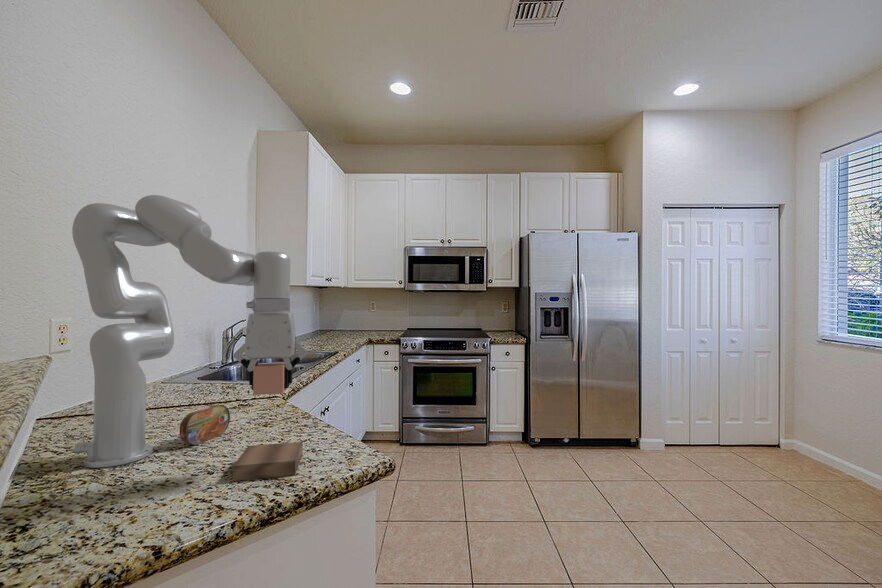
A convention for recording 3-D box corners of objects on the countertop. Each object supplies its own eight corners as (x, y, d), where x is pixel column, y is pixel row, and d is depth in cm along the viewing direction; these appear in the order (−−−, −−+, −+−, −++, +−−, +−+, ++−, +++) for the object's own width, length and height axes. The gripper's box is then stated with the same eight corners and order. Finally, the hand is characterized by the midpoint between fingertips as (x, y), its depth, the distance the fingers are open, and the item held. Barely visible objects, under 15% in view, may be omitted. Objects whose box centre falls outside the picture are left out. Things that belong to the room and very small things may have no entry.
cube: (253, 395, 83) (253, 366, 84) (259, 389, 89) (260, 362, 89) (282, 393, 85) (283, 365, 85) (287, 388, 90) (287, 362, 91)
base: (232, 481, 79) (232, 465, 79) (248, 458, 91) (248, 445, 91) (295, 475, 82) (295, 460, 82) (302, 454, 93) (302, 441, 94)
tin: (187, 449, 97) (187, 415, 98) (176, 448, 98) (177, 415, 98) (230, 431, 112) (231, 401, 112) (221, 430, 113) (221, 401, 113)
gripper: (224, 307, 82) (223, 393, 81) (310, 306, 86) (309, 389, 85) (235, 307, 89) (233, 386, 89) (313, 307, 93) (313, 383, 92)
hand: (271, 387), depth 87 cm, fingers closed on cube, 6 cm apart
